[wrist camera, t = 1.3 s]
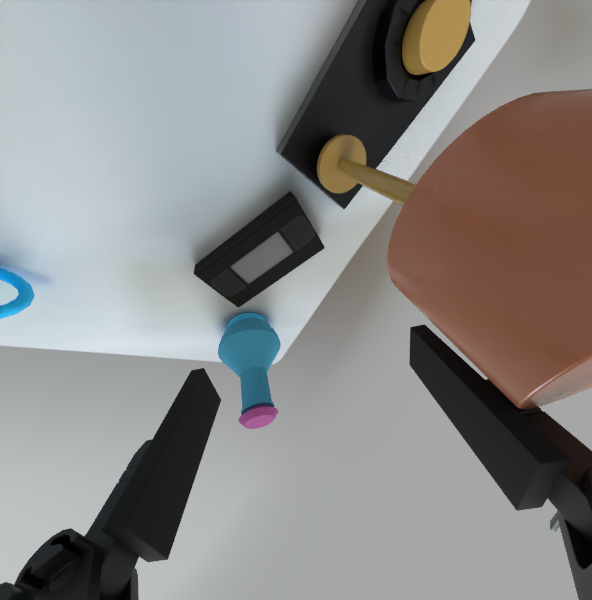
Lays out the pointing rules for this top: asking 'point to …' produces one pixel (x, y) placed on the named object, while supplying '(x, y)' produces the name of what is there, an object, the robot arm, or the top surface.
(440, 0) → the switch
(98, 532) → the robot arm
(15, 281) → the mug
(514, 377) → the lamp
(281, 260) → the vhs tape
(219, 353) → the perfume bottle
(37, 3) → the top surface
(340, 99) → the lamp base
